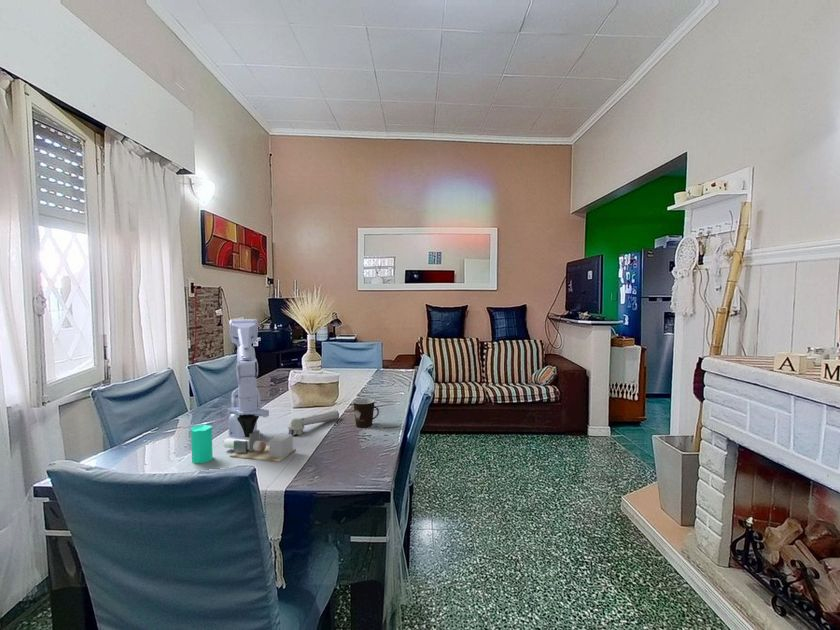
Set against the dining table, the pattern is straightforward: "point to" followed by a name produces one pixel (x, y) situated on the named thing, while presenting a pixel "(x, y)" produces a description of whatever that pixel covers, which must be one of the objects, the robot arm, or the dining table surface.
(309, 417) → the grey capped rod
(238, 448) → the grey parallel plates
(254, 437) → the tube
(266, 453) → the board
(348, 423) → the dining table surface
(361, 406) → the coffee mug
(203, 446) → the candle
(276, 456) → the socket
